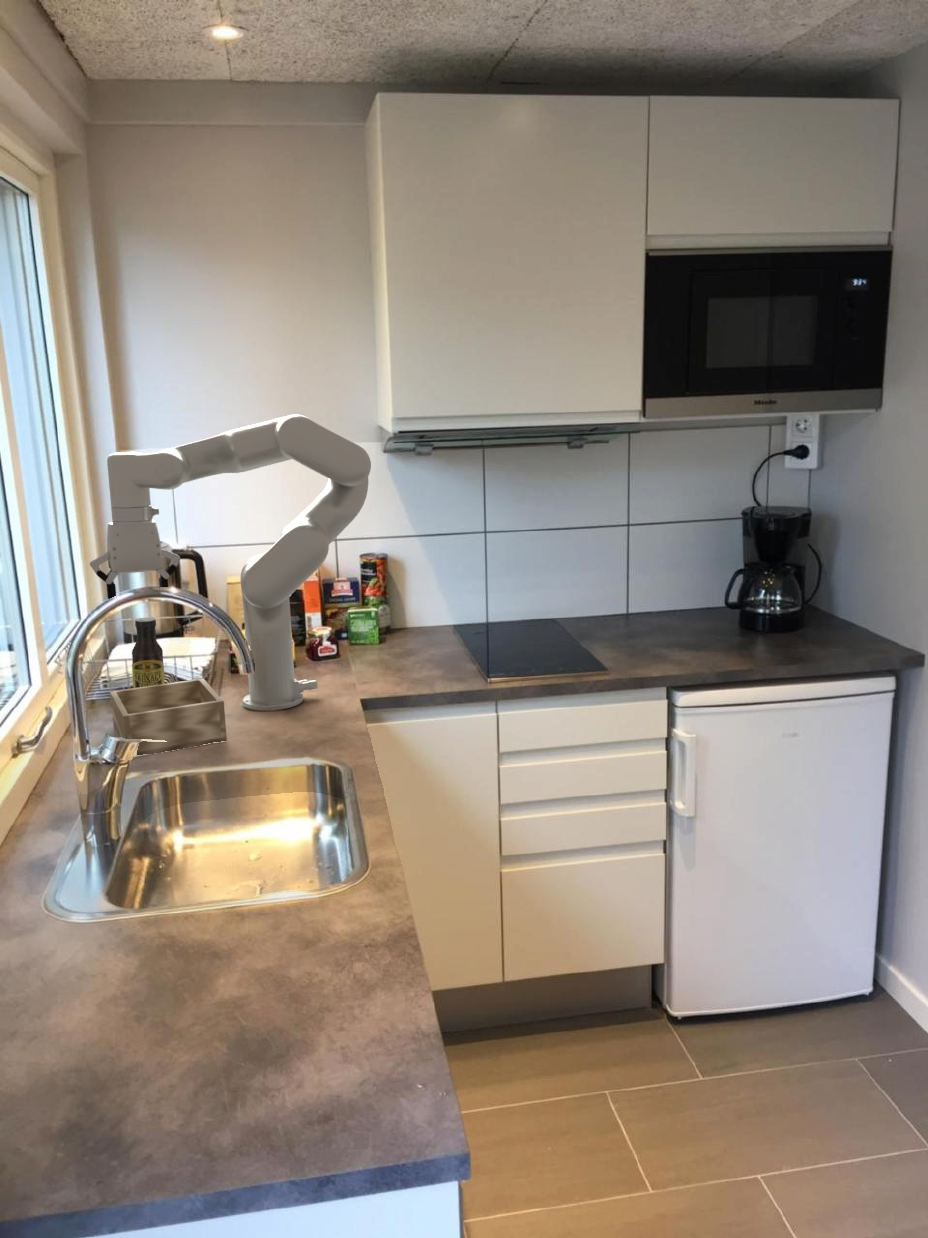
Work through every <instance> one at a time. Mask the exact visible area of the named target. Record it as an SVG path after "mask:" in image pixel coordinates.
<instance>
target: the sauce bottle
mask: <svg viewBox="0 0 928 1238" xmlns="http://www.w3.org/2000/svg"><path fill="white" fill-rule="evenodd" d="M134 622H135V623H134V626H135V628H136V642H135V644H134V646H133V648H132V650H131V656H132V657H131V658H132V659H131V660H132V665H131V671H132V672H131V673H132V683H133V684H132V688H139V687H146V686H153V685H160V684H166V683H165V665H164V664H165V663H164V656H163V653H164V652H163V648H162V646H161V645H160V644H159V642H158V640H157V635H156V634H157V633H156V632H157V631H156V627H157V619H156V618H153V617H140V618H136V619H135V620H134Z"/></svg>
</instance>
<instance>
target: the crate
mask: <svg viewBox="0 0 928 1238" xmlns="http://www.w3.org/2000/svg"><path fill="white" fill-rule="evenodd" d="M109 694H110V695H109V696H110V704H111V714H112V724H113V730H114V733H115V736H116V737H122V738H125V739H152V740H165V741H167V742H147V741H142V742H140V743H139V746H138V750H137V755H143V754H152V755H155V754H154V753H158V754H162V753H161V752H164V753H166V752H165V751H170V752H173V751H172V750H176V751H178V750H177V749H182V750H184V749H183V748H188V749H190V748H189V747H193V748H195V747H194V746H199V747H201V746H200V745H203V744H208V743H213V742H221V741H227V742H228V739H227V725H226V713H225V711H226V710H225V702H224V699H222V697H221V696H220V695H219V694H218V693H217V692H216V691H215V690H214V689H213V688H212V687H211V685H210V684H209V683H208V682H207V681H206V679H204V678H197V679H188V680H183V681H182V680H181V681H175V682H167V683H165V684H160V685H153V686H146V687H139V688H133V687H131V688H125V689H120V690H119V689H118V690H112V691H109Z"/></svg>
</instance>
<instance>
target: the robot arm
mask: <svg viewBox="0 0 928 1238" xmlns="http://www.w3.org/2000/svg"><path fill="white" fill-rule="evenodd" d="M291 460H293V461H295V462H297V463H298V464H301V466H304V467H306V468H308V469H309V470H312V471H313V472H315V473H318V474H320V475H321V476H323V477H325V478H328V481H327V484H326V486H325V488H324V489H323V490H322V492H321V493H320V494H319V495H318V496H317V497H316V498H315V499H314V500H313V501H312V502H311V503H310V504H309V505H308V506H307V507H306V508H305V509H304V510H303V511H302V512H301V513H300V514H298V516H297V517H295V518H294V519H293V520H292V521H290V523H288V524H287V525H286V526H285V527H284V528H283V529H282V531H281V532H280V535H279V536H280V537H279V538H278V539H277V540H276V542H275V543H273V544H272V546H270V547H269V548H268V549H267V550H266V551H265V552H264V553H259V554H255V555H253V556H251V557H250V558H249V559H248V560H247V561H246V562H245V563H244V565H243V567H242V569H241V572H240V587H241V595H242V597H241V598H242V608H243V622H244V637H246V640H247V642H248V644H249V646H250V649H251V651H252V654H253V658H254V663H255V673H254V674H253V675H248V674H247V676H248V678H247V679H248V690H249V694H247V695H245V696H244V697H243V698H242V705H243V707H245V708H246V709H249V710H252V711H261V712H263V711H264V712H266V711H268V712H269V711H279V710H285V709H289V708H293V707H296V706H298V705H300V704H301V703H302V702H303V701H304V694H303V693H304V691H307V690H308V691H311V690H317V689H318V681H317V680H316V679H315V680H308V679H302V680H298V679H296V678H295V670H294V669H295V668H294V667H295V665H294V652H293V651H294V650H293V637H292V635H293V634H292V619H291V616H292V615H291V604H290V603H291V602H290V596H291V595H292V594H293V593H295V592H296V590H298V588H300V587H301V586H302V585H303V584H304V583H305V582H306V581H307V580H308V579H309V578H311V576H312V575H313V574H314V573H315V572H316V571H318V569H319V568H320V567H322V564H323V563H324V562H325V560H326V559H327V557H328V554H329V548H330V544H331V543H333V542H334V541H335V539H337V537H339V535H340V534H341V533H342V532H343V531H344V530H345V529H346V528H347V527H348V526H349V525H350V524H351V523H352V522H353V521H354V520H355V519H356V517H357V516H358V514H359V513H360V511H361V510H362V508H363V507H364V505H365V501H366V499H367V495H368V490H369V476H370V473H371V469H372V461H371V458H370V455H369V454H368V452H367V450H365V448H363V447H362V446H360V445H359V444H357V443H355V442H353V441H351V440H349V439H347V438H345V437H343V436H341V435H339V434H337V433H335V432H334V431H331V430H330V429H329V428H326V427H324V426H322V425H321V424H319V423H318V422H316V421H314V420H313V419H311V418H309V417H307V416H305V415H301V414H289V415H287V416H282V417H277V418H273V419H271V420H267V421H266V420H265V421H263V422H258V423H255V424H251V425H246V426H242V427H240V428H234V429H231V430H228V431H225V432H221V433H220V434H218V435H214V436H211V437H207V438H205V439H200V440H197V441H193V442H190V443H185V444H182V445H177V446H174V447H170V448H165V449H162V450H160V451H157V452H152V453H142V452H139V451H138V452H137V451H121V452H113V453H111V454H109V455H108V457H107V460H106V462H107V463H106V464H107V476H108V488H109V496H110V497H109V499H110V510H111V521H112V522H108V524H107V531H106V532H107V533H106V536H107V537H106V543H107V544H106V550H107V551H106V552H105V553H103V554H101V555H99V556H98V557H95V559H92V561H90V562H89V566H90V567H91V569H92V571H93V572H94V574H96V576H97V577H98V578H99V579H100V580H102V581H103V582H104V583H106V595H107V599H108V600H111V599H110V598H112V597H114V596H116V597H117V591H116V584H115V579H116V578H117V577H118V575H119V574H123V575H124V574H136V573H146V572H147V573H148V572H157V573H158V574H159V576H160V577H159V578H158V584H159V585H158V586H159V588H160V587H169V579H170V577H171V576H172V574H173V573H174V572H175V571H176V570H177V566H178V564H179V563H180V561H181V556H180V555H178V554H176V553H173V552H171V551H169V550H166V549H164V548H162V546H161V538H160V533H159V529H158V526H157V521H156V520H154V519H153V518H154V516H156V515H160V510H159V508H158V507H153V506H152V503H151V491H150V489H154V490H155V489H157V490H174V489H177V488H179V487H181V485H183V484H184V483H189V482H193V481H196V480H198V479H203V478H208V477H211V476H216V475H221V474H239V473H246V472H249V471H252V470H256V469H260V468H264V467H267V466H271V465H274V464H275V465H276V464H278V463H282V462H286V461H291ZM163 557H165V558H168V559H169V560H170V563H169V565H168V566H167V567H165V569H164V568H163V565H164V563H163V561H164V560H163V559H164V558H163ZM105 562H107V565H108V568H109V571H108V572H107V574H106V573H105V572H104V571H103V570H102V569H101V568H100V566H101V564H103V563H105ZM246 640H245V641H246Z"/></svg>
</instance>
